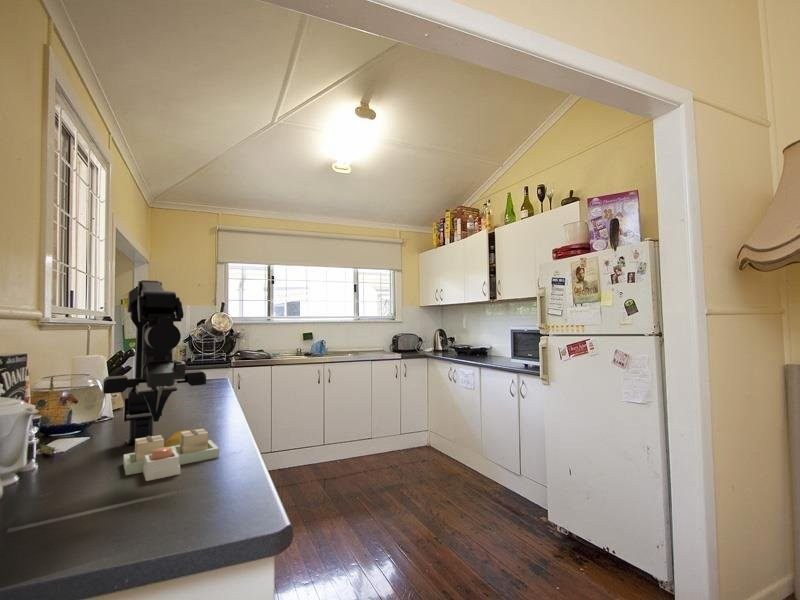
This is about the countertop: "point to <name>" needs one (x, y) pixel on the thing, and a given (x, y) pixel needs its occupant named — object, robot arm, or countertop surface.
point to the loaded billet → (147, 446)
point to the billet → (193, 440)
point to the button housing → (161, 467)
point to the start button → (161, 453)
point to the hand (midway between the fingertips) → (155, 421)
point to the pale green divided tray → (184, 458)
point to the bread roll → (174, 439)
